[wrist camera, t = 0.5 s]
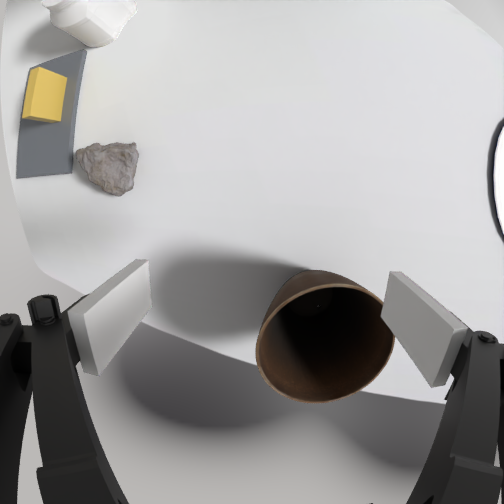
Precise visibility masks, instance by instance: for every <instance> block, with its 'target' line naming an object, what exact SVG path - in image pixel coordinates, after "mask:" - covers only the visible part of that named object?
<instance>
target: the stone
mask: <svg viewBox="0 0 504 504" xmlns="http://www.w3.org/2000/svg"><path fill="white" fill-rule="evenodd" d="M76 156H77V161H78V162H79V163H80V164H81V167H82V168H83V170H85V171H86V172H87V174H88V178H89V180H90V181H91V182H93V183H95V184H97V185H99V186H101V187H102V189H103V190H104V191H105V192H108V193H112V194H115V195H116V196H122V195H123V194H124V193H125V192H127V191H130V190H131V189H133V186H134V182H133V178H134V176H135V172H136V167H137V166H136V164H137V159H138V156H139V154H138V152H137V150H136V143H134V142H133V143H132V144H123V143H114V144H109V145H106V146H102V145H100V144H99V143H94V144H92V146H90V147H86V148H85V149H83V148H82V149H79V150H77V151H76Z"/></svg>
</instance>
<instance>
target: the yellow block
mask: <svg viewBox="0 0 504 504" xmlns="http://www.w3.org/2000/svg"><path fill="white" fill-rule="evenodd" d="M66 82H67V77H64V76H62V75H59V74H57V73H54V72H52V71H49V70H47V69H44V68H41V67H37V68H34V69H32V70H31V71H30V75H29V80H28V85H27V90H26V96H25V102H24V108H23V115H22V118H23V119H30V120H37V121H43V122H49V123H55V122H60V121H61V115H62V107H63V100H64V94H65V88H66Z"/></svg>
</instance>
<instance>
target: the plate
mask: <svg viewBox="0 0 504 504" xmlns="http://www.w3.org/2000/svg"><path fill="white" fill-rule="evenodd" d="M493 183H494V199H495V205H496V211H497V217H498V220H499V223H500V226H501V229H502V232H503V234H504V126H503V128H502V130H501V132H500V134H499V137H498V141H497V145H496V150H495V154H494V169H493Z"/></svg>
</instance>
